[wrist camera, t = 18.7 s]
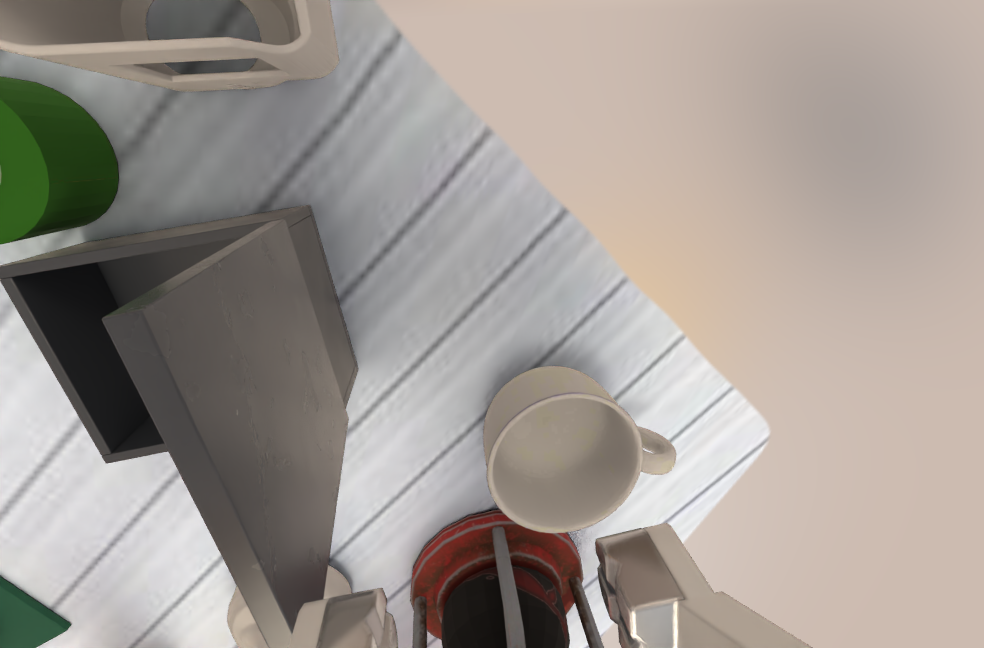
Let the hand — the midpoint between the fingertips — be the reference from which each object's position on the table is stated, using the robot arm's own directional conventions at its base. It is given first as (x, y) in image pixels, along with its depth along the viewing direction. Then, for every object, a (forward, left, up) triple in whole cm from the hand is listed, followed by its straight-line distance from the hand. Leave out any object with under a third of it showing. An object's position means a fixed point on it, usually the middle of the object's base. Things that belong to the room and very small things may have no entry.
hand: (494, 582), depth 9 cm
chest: (-5, -14, -25) cm, 29 cm away
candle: (-18, -17, -25) cm, 36 cm away
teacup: (+15, +2, -25) cm, 29 cm away
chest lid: (-3, -7, -11) cm, 13 cm away
